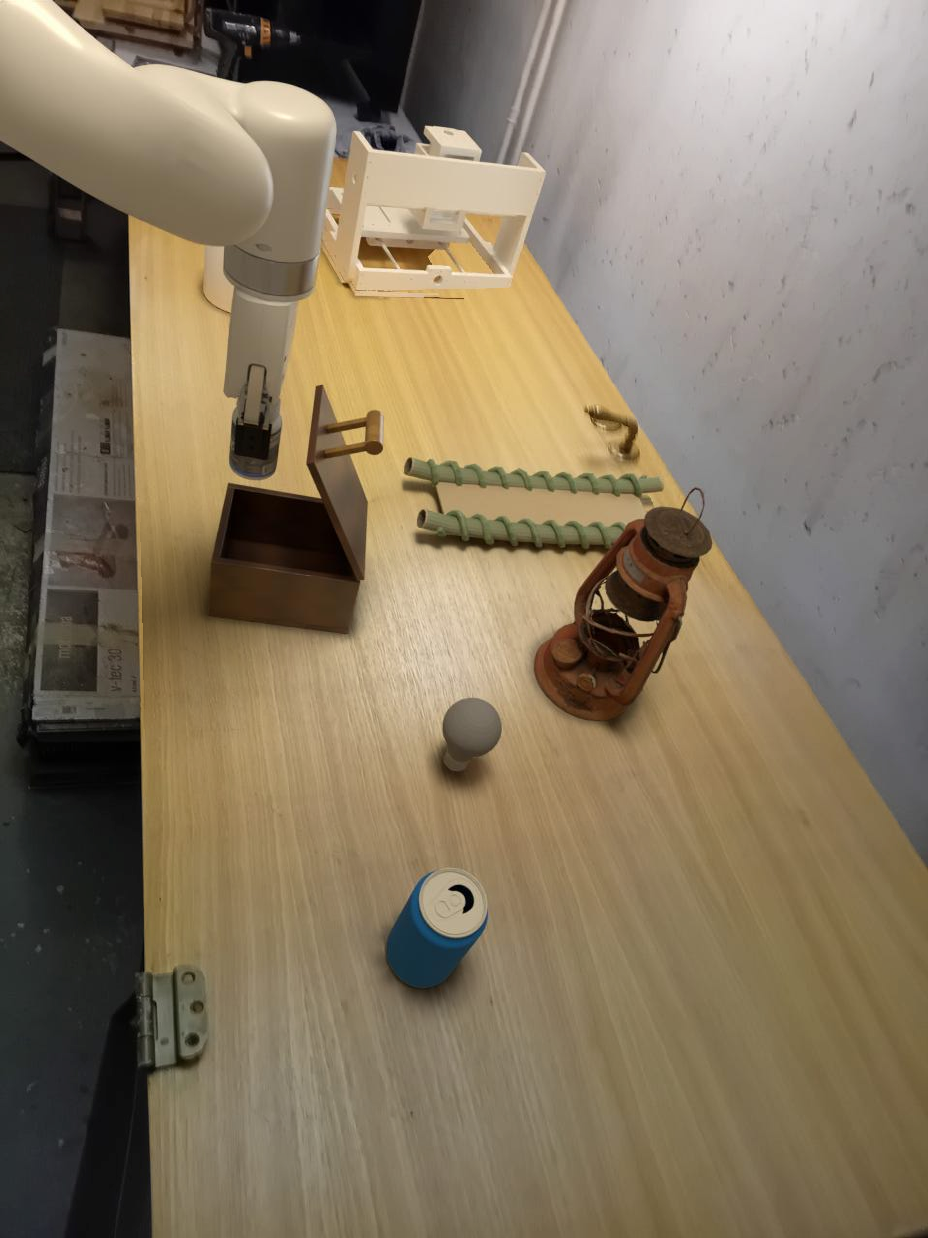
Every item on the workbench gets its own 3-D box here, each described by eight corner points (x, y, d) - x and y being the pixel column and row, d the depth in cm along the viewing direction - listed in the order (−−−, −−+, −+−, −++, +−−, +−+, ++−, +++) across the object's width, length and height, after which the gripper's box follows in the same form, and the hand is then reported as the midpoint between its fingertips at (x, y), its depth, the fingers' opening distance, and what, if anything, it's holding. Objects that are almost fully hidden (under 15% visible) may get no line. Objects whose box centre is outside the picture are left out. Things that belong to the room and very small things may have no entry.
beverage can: (468, 966, 74) (508, 917, 65) (408, 1005, 70) (442, 958, 62) (430, 904, 77) (464, 849, 68) (371, 938, 73) (398, 885, 64)
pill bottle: (224, 451, 83) (228, 381, 77) (270, 450, 85) (278, 381, 79) (233, 483, 80) (239, 413, 74) (281, 480, 82) (290, 412, 76)
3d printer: (455, 218, 176) (483, 87, 157) (519, 300, 159) (558, 165, 140) (296, 213, 161) (306, 69, 142) (348, 303, 145) (366, 153, 126)
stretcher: (415, 549, 107) (424, 522, 103) (398, 476, 115) (405, 448, 112) (681, 559, 120) (697, 535, 117) (647, 492, 129) (661, 468, 125)
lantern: (515, 624, 103) (609, 434, 81) (605, 620, 108) (716, 440, 86) (559, 740, 93) (679, 558, 71) (655, 730, 98) (795, 557, 76)
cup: (280, 286, 139) (288, 217, 131) (272, 322, 132) (280, 251, 123) (209, 270, 137) (212, 198, 128) (197, 305, 129) (199, 231, 120)
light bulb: (488, 783, 87) (517, 733, 80) (435, 791, 85) (460, 740, 77) (472, 735, 90) (498, 683, 83) (420, 741, 88) (443, 688, 81)
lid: (305, 463, 76) (374, 450, 75) (315, 385, 84) (377, 372, 83) (357, 581, 88) (417, 571, 87) (361, 503, 96) (416, 493, 95)
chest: (208, 615, 91) (211, 561, 85) (224, 537, 99) (228, 482, 93) (347, 634, 95) (360, 583, 88) (352, 556, 103) (364, 505, 97)
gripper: (238, 204, 72) (227, 380, 85) (207, 303, 61) (200, 488, 74) (324, 225, 73) (300, 395, 86) (309, 325, 62) (284, 502, 75)
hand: (254, 436), depth 80 cm, fingers closed on pill bottle, 4 cm apart
